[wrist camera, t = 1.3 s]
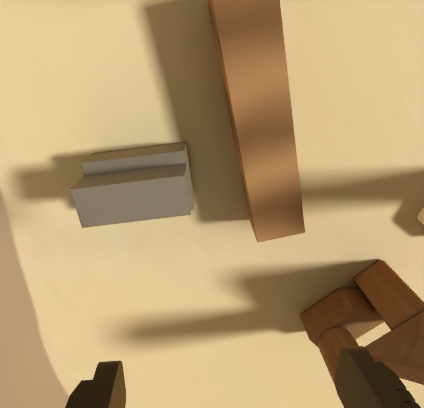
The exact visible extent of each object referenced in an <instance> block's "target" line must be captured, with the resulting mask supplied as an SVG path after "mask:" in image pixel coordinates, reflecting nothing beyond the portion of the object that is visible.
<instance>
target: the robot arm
mask: <svg viewBox="0 0 424 408" xmlns="http://www.w3.org/2000/svg"><path fill="white" fill-rule="evenodd" d="M335 387H336V390H337V393H338V396H339V398H340V400H341V402H342V404H343V406H344V408H421V407H420V406H419V405H418V403H416V402H415V399H414V398H413V397H412V395H411V394H410V392H409V391H407V390H406V387H405V386H404V384H403V383H402V382H401V380H400V379H399V377H398V376H397V375H396V373H395V372H393V371H392V370H391V369H390V368H389V367H387V366H386V365H385V364H384V363H383V362H381V361H376V362H375V361H374V359H373V358H372V356H371V355H370V353H369V352H368V350H367V349H366V348H365V347H363V346H357V347H343V348H341V350H340V354H339V359H338V363H337V368H336V372H335ZM125 404H126V388H125V381H124V373H123V366H122V361H108V362H99V363H98V365H97V368H96V371H95V375H94V378H93V380H84V381H81V382H80V383H79V385H78V386H77V387H76V388H75V390H74V391H73V392H72V394H71V395H70V396H69V399H68V402H67V405H66V407H65V408H125Z"/></svg>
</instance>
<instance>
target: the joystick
mask: <svg viewBox="0 0 424 408" xmlns="http://www.w3.org/2000/svg"><path fill="white" fill-rule="evenodd" d="M417 219H418V221H419V222H421V223H422V224H423V225H424V207H423V208H422V210H421V211H420V213H419V214H418V217H417Z"/></svg>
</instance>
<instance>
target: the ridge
mask: <svg viewBox="0 0 424 408" xmlns="http://www.w3.org/2000/svg"><path fill="white" fill-rule="evenodd" d="M81 165H82V169H83V172H84V175H85V176H84V177H83V178H82V179H81V180H80V181H78V182H77V183H76V184H75V185H74V186H73V187H72V188H71V189H70V192H71V195H72V198H73V201H74V204H75V208H76V211H77V214H78V217H79V220H80V223H81V226H82V228H84V227H92V226H101V225H109V224H117V223H126V222H134V221H142V220H151V219H159V218H167V217H176V216H184V215H191V210H194V191H193V185H192V178H191V171H190V165H189V158H188V151H187V145H186V142H183V143H175V144H167V145H159V146H151V147H143V148H134V149H126V150H118V151H110V152H102V153H94V154H92V155H91V156H90V157H88V158H87V159H86V160H85V161H83V162H82V163H81Z"/></svg>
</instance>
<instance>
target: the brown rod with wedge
mask: <svg viewBox="0 0 424 408" xmlns="http://www.w3.org/2000/svg"><path fill="white" fill-rule="evenodd" d="M354 279H355V282H356V283H357V285H358V286H359V287H360V289H337V290H336V291H334V292H333V293H331V294H330V295H328V296H327V297H325V298H324V299H323V300H321V301H320V302H318V303H317V304H315V305H314V306H312V307H311V308H309V309H308V310H306V311H305V312H303V313H302V314H301V315H300V317H301V320H302V322H303V325H304V327H305V330H306V332H307V334H308V337H309V339H310V340H311V341H312V342H313V343H314V344H315V345H316V346H317V347H319V349H320V352H321V354H322V356H323V359H324V361H325V363H326V366H327V368H328V370H329V373H330V375H331V377H332V380H333V382H334V384H335V372H336V368H337V363H338V359H339V354H340V350H341V348H343V347H357V346H359V345H358V344H357V342H356V340H355V339H357V338H359V337H360V336H362V335H363V334H365V333H367V332H368V331H370V330H372V329H373V328H375V327H376V326H378V325H380V324H381V323H383V322H384V321H385V323H386V324H387V325H388V327H389V328H390V329H391V330H392V331H390V332H388V333H387V334H385V335H383V336H382V337H380V338H378V339H377V340H375V341H374V342H372V343H370V344H369V345H367V346H365V348H366V349H367V350H368V352H369V353H370V355H371V356H372V358H373V359H374V361H375V362H376V361H381V362H383V363H384V364H385V365H386V366H387V367H389V368H390V369H391V370H392V371H393V372H395V373H396V375H397V376H398V377H399V378H402V379H405V380H409V381H412V382H416V383H419V384H423V385H424V302H423V301H422V300H421V299H420V298H419V297H418V296H417V295H416V294H415V292H414V291H413V290H412V289H411V288H410V287H409V286H408V285H407V284H406V283H405V282H404V281H403V280H402V279H401V278H400V277H399V276H398V275H397V274H396V273H395V272H394V271H393V270H392V269H391V268H390V267H389V266H388V265H387V264H386V262H385V261H382V260H379V261H378V262H376V263H375V264H373V265H372V266H370V267H369V268H367V269H366V270H364V271H363V272H361V273H360V274H359V275H357V276H356V277H355V278H354Z"/></svg>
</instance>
